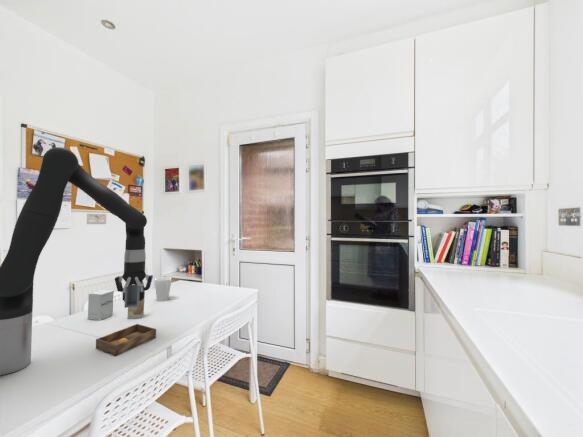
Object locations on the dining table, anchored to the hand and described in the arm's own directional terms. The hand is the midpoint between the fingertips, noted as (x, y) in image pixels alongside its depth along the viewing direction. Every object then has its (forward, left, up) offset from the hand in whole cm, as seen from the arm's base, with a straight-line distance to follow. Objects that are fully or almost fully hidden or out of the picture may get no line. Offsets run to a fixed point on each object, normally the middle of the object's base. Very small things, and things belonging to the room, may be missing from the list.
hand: (133, 300), depth 104 cm
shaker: (0, 0, -2) cm, 2 cm away
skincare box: (+15, +20, -15) cm, 29 cm away
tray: (-4, -3, -15) cm, 16 cm away
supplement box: (+7, +35, -15) cm, 39 cm away
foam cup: (+40, +32, -15) cm, 54 cm away
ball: (-8, -6, -13) cm, 16 cm away
